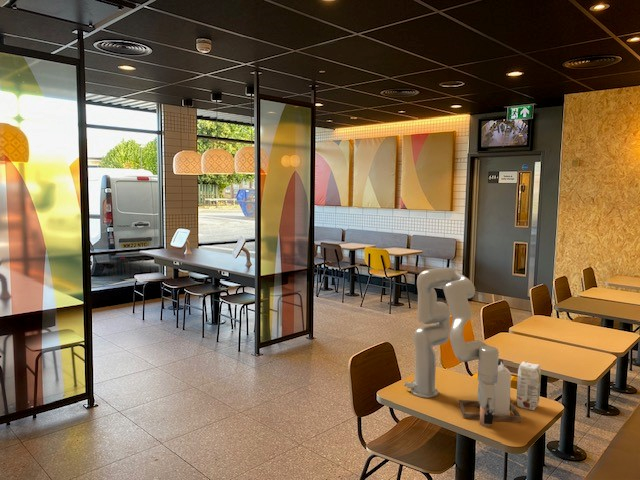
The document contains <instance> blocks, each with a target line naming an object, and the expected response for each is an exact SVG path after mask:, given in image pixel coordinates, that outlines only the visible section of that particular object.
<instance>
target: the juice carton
mask: <svg viewBox="0 0 640 480" xmlns="http://www.w3.org/2000/svg"><path fill="white" fill-rule="evenodd" d="M541 378H542V371H541V365H540V364H538V363H537V364H536V363H530V362H527V361H521V363H520V364H519V366H518V368H517V382H516V383H517V384H516V387H517V388H516V403H517V407H518V408H522V409H526V410H529V411H535V409H536V408H537V407H538V406H539V402H540V397H541V396H540V395H541V393H540V392H541Z"/></svg>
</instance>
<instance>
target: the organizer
mask: <svg viewBox="0 0 640 480" xmlns="http://www.w3.org/2000/svg"><path fill="white" fill-rule="evenodd" d="M479 404H480V403H479V401H478V400H470V399H469V400H468V399H458V406H459V407H458V408H459V410H460V413H461V416H462V418H463V419H469V420H470V419H473V420H480V412H479V413H478V412H467V411H466V409H465V406H467V407H478V409H479ZM509 410H510V411H511V412H512V414H513V415H510V414H509V415H497V414H493V421H499V422H500V421H503V422H513V423H514V422H516V423H517V422H518V423H522V417H521V414H520V413H519V412H518V409H516V407H515V405H514V403H513V402H510V407H509Z"/></svg>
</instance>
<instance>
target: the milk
mask: <svg viewBox="0 0 640 480" xmlns="http://www.w3.org/2000/svg"><path fill="white" fill-rule="evenodd" d="M511 383H512V373H511V372H510V370H509V368H507V367H506V366H505V365H504V362H503V363H502V362H501V365H499V366H498V378H497V383H496V384H495V402H494V408H493V414H497V415H510V409H509V407H510V403H511V385H512V384H511Z"/></svg>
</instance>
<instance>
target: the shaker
mask: <svg viewBox="0 0 640 480" xmlns="http://www.w3.org/2000/svg"><path fill="white" fill-rule="evenodd" d="M486 406H488V405H486ZM487 410H489V408H487ZM479 413H480V419H479V426H481V427H483V428H490V427H492V424H485V423H484V413H485V407H483V408H482V407H481V405H480V412H479Z"/></svg>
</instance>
